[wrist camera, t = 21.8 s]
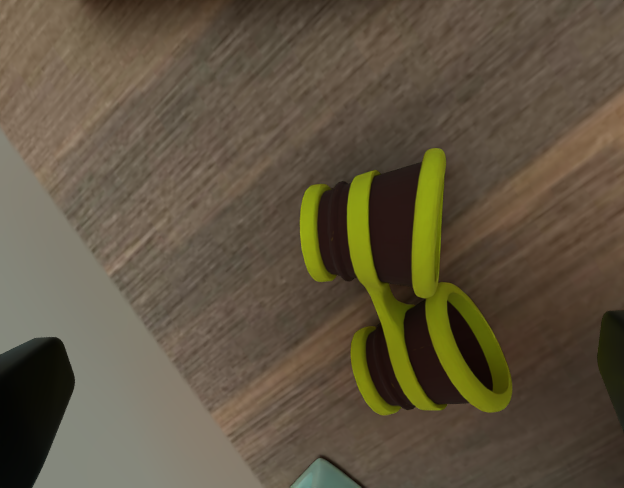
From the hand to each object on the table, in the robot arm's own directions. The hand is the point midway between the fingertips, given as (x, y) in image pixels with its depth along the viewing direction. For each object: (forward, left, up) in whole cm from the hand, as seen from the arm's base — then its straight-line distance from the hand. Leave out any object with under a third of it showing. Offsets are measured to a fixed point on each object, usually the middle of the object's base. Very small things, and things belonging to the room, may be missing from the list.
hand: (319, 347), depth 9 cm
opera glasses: (-2, +5, -12) cm, 13 cm away
